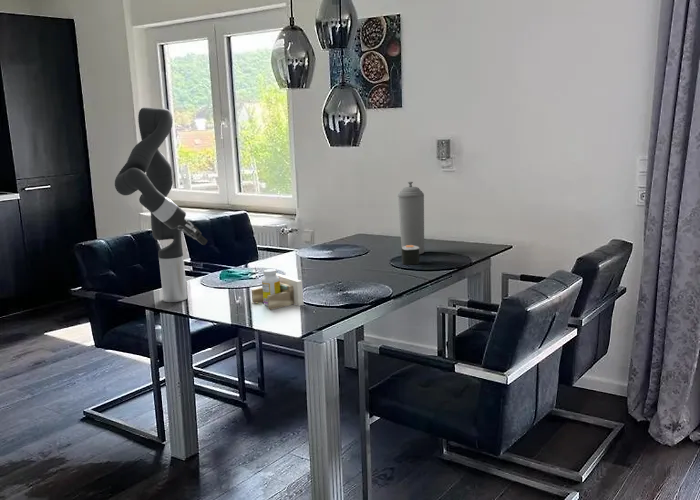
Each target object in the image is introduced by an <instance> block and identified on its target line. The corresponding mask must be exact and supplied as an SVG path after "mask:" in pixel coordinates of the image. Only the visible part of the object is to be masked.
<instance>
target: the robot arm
mask: <svg viewBox="0 0 700 500" xmlns="http://www.w3.org/2000/svg"><path fill="white" fill-rule="evenodd" d="M138 111H139V112H138V117H137V118H138V119H137V120H138V121H137V122H138V127H139V129H138V130H139V135H140V138H141V141H139V142H138V143H137V144H136V145H135V146H134V147H133V148H132V150H131V152H130V154H129V155H128V158H127V161H126V163H125V164H124V165H123V166H122V168H121V169H120V171H118V173H117V175H116V177H115V180H114V188H115V190H116V191H117V193H119V195H122V196H129V195H130V196H131V195H132V194H134V193H135V192H138V191H139V192H140V193H141V194H140V195H139V198H138V199H139V200H138V201H139V203H140V205H142V207H144V208H145V209H146V210H147V211H149V212H150V223H151V224H150V225H151V226H150V228H151V233H152V237H153V239H154V240H155V241H166V240H172V242H171V243H170V244H168V245H167V246H165V247H162V248H159V250H158V255H157V256H158V261H159V262H158V263H159V272H160V280H161V281H160V283H161V292H162V301H163V302H166V303H177V302H182V301H185V300H187V299H188V290H187V289H188V288H187V280H186V279H187V278H186V272H185V271H186V270H185V261H184V252H183V241H182V233H184V234H185V235H186V236H188V237H189V238H192V239H193V240H196V241H197V242H198V243H199V244H201V245H203V246H206V244H207V243H208V239H207V238H205V236H203V235H202V232H201V231H200V229H199V228H198V227H197V226H196V225H194V224H193V223H192V222H191V221H190V220H186V216H187V213H186V211H185V210H183V209H182V208H181V207H180V206H178V205H177V204H176V203H175V202H174V201H173V200H171V199H170V198H168V195H169V193H170V192H171V190H172V187H173V184H174V182H173V181H174V179H173V171H172V170H173V169H172V166H171V164H170V163H169V161H168V160H167V158H166V156H165V155H164V154H163V153H162V152H161V150H160V149H159V148H160V147H161V145H163V143H164V141H165V140H166V139H167V137H168V136H169V135H170V132H171V130H172V128H173V114H172V113H171V111H170V110H169V109H167V108H162V107H141V108H140V110H138Z"/></svg>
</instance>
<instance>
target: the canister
mask: <svg viewBox="0 0 700 500" xmlns="http://www.w3.org/2000/svg"><path fill="white" fill-rule="evenodd" d="M413 182H414V181H407V184H408V186H405V187H403V188H402V189H401V191H400V192H399V193H398V195H397V199H398V214H399V231H400V244H401V249H402V248H403V246H406V245H414V246H417V247H419V255H422V254H424V253H425V200H424V199H425V194H424V192H423V191H422V190H421V189H420V187H418V186H413V185H412V184H414V183H413Z"/></svg>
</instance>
